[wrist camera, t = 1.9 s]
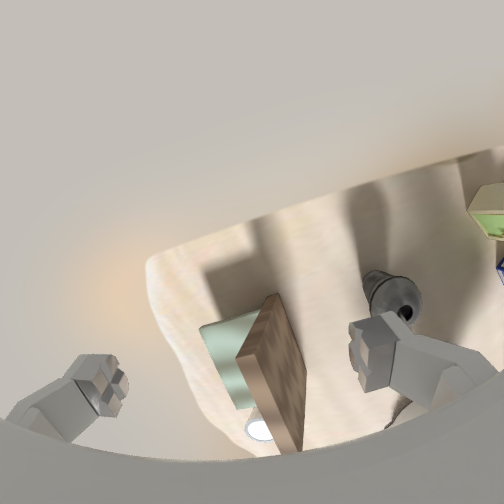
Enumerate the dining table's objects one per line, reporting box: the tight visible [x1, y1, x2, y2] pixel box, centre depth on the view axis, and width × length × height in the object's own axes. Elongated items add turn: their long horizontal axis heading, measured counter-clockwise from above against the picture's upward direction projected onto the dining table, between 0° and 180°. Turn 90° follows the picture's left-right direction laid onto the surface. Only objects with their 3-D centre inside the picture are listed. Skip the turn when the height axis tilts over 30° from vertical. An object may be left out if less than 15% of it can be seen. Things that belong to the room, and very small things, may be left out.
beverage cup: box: [363, 271, 422, 331], centre depth 33 cm, size 7×7×20 cm
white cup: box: [245, 407, 274, 443], centre depth 46 cm, size 7×7×7 cm
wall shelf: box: [199, 293, 307, 455], centre depth 37 cm, size 16×12×22 cm
